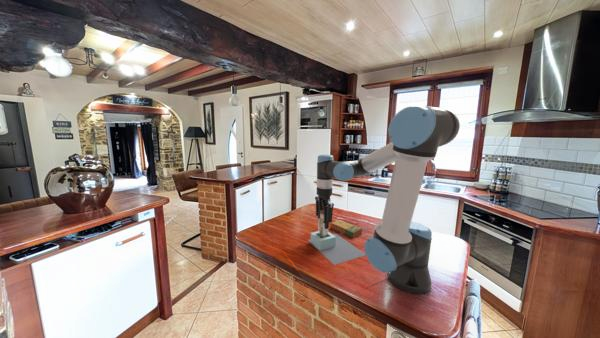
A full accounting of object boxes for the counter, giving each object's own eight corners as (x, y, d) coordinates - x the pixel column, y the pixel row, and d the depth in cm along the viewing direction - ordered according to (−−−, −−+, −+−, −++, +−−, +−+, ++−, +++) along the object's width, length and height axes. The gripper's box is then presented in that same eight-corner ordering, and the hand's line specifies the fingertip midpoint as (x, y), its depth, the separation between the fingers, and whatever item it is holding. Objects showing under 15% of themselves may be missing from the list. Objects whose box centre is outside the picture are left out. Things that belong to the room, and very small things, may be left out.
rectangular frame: (335, 246, 109) (335, 236, 109) (319, 250, 105) (320, 240, 105) (325, 238, 117) (325, 229, 117) (310, 241, 113) (310, 232, 113)
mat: (366, 256, 102) (366, 254, 102) (334, 266, 94) (334, 265, 94) (335, 234, 123) (335, 233, 123) (307, 241, 116) (307, 240, 115)
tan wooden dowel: (327, 241, 110) (329, 210, 107) (321, 242, 109) (322, 212, 106) (324, 238, 114) (324, 208, 111) (317, 239, 112) (318, 209, 109)
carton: (339, 225, 135) (339, 219, 135) (362, 235, 123) (362, 228, 123) (330, 229, 130) (330, 222, 129) (353, 239, 118) (353, 232, 117)
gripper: (341, 190, 101) (339, 238, 105) (321, 182, 115) (320, 224, 119) (327, 192, 97) (325, 241, 101) (309, 183, 112) (308, 227, 116)
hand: (323, 232), depth 110 cm, fingers closed on tan wooden dowel, 3 cm apart
